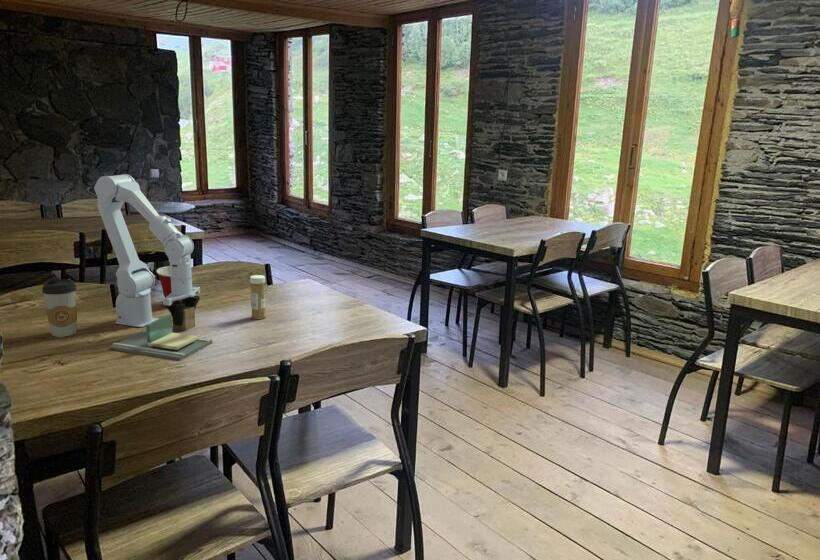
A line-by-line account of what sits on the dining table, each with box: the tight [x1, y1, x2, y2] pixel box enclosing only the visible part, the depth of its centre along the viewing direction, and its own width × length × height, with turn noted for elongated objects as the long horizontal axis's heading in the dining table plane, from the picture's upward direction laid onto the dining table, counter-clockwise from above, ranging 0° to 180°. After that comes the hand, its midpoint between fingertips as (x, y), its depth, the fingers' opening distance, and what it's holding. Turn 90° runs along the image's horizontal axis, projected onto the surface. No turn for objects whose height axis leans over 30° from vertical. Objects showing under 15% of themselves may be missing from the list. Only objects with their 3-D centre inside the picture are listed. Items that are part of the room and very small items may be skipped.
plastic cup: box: [156, 265, 182, 303], centre depth 201 cm, size 11×11×12 cm
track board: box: [109, 330, 213, 361], centre depth 165 cm, size 22×14×1 cm, turn 74°
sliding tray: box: [145, 314, 199, 351], centre depth 163 cm, size 9×9×6 cm
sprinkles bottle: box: [249, 274, 267, 320], centre depth 190 cm, size 5×5×14 cm
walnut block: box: [172, 306, 196, 332], centre depth 179 cm, size 4×4×6 cm
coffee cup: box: [41, 278, 78, 338], centre depth 170 cm, size 8×8×15 cm
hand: (183, 322), depth 180 cm, fingers closed on walnut block, 4 cm apart
